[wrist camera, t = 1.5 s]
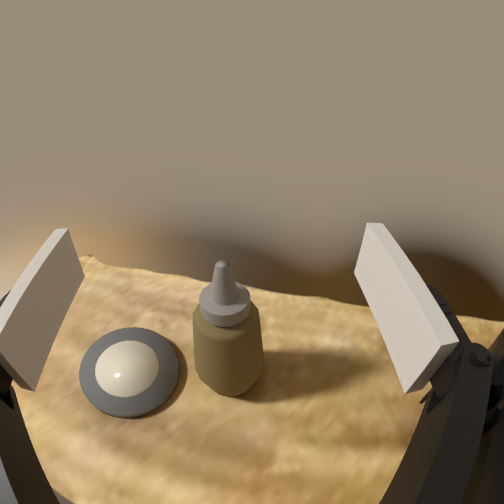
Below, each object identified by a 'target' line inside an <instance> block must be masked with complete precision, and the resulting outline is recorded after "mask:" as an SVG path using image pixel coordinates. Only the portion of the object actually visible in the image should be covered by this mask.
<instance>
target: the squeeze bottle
mask: <svg viewBox="0 0 504 504" xmlns="http://www.w3.org/2000/svg"><path fill="white" fill-rule="evenodd" d="M199 303H200V304H198V306H197V307H196V309H195V311H194V313H193V337H194V356H195V370H196V371H197V373H198V375H199V377H200V379H201V380H202V381H203V382H204V383H205V384H206V385H208V386H209V387H210V388H211V389H213V390H214V391H215V392H217V393H218V394H220V395H224V396H227V397H229V396H238V395H240V394H243V393H245V392H246V391H247V390H248V389H249V388H250V387H251V386H252V385H253V384H254V383H255V382H256V380H257V379H258V378H259V377H260V376H261V373H262V370H263V367H264V356H263V346H262V337H261V327H260V318H259V312H258V309H257V307H256V306H255V305H254V304H253V302H252V301H250V294H249V291H248V290H247V289H246V288H245V286H243V285H241V284H239V283H237V282H235V280H234V276H233V273H232V270H231V267H230V264H229V262H227V261H224V260H222V261H218V262H217V263H216V265H215V270H214V276H213V280H212V283H211V284H209V285H208V286H207V287H205V288H204V289H203V290H202V292H201V294H200V295H199Z"/></svg>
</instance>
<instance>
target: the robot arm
mask: <svg viewBox="0 0 504 504" xmlns="http://www.w3.org/2000/svg"><path fill="white" fill-rule="evenodd" d="M354 274H355V276H356V278H357V280H358V282H359V284H360V286H361V289H362V291H363V293H364V295H365V297H366V300H367V302H368V304H369V306H370V309H371V311H372V313H373V315H374V318H375V320H376V322H377V325H378V327H379V329H380V332H381V334H382V337H383V339H384V341H385V344H386V346H387V349H388V351H389V354H390V356H391V359H392V361H393V364H394V366H395V369H396V372H397V374H398V377H399V380H400V382H401V385H402V388H403V390H404V393H405V394H406V393H410V392H414V391H418V390H421V389H423V388H424V386H425V385H426V384H427V383H428V382H429V380H430V382H431V384H432V388H431V389H430V391H429V392H428V393H427V394H426V395H425V396H424V397H423V398H422V400H421V401H420V404H422V403H423V402H424V401H425V400H426V399H427V400H426V402H425V405H424V408H423V411H422V414H421V416H420V419H419V422H418V424H417V427H416V429H415V432H414V434H413V437H412V439H411V441H410V444H409V446H408V448H407V451H406V453H405V455H404V457H403V459H402V461H401V463H400V466H399V468H398V470H397V472H396V474H395V476H394V478H393V480H392V481H391V483H390V485H389V487H388V489H387V491H386V493H385V494H384V496H383V498H382V500H381V501H380V503H379V504H460V503H461V504H504V329H503V330H502V332H501V333H500V334H499V336H498V337H497V338H496V340H495V341H494V342H493V344H492V345H491V346H490V347H489V349H488V350H487V349H486V348H485V347H484V346H482V345H481V344H478V343H471V341H470V339H469V338H468V336H467V334H466V332H465V331H464V329H463V327H462V326H461V324H460V322H459V321H458V319H457V317H456V316H455V314H453V311H452V309H451V308H450V306H448V303H447V301H446V300H445V298H444V297H443V295H442V293H440V292H439V291H438V290H437V289H436V288H435V287H434V286H432V285H425V283H424V282H423V280H422V279H421V277H420V275H419V274H418V272H417V271H416V269H415V268H414V267H413V265H412V264H411V262H410V261H409V259H408V258H407V256H406V255H405V253H404V252H403V251H402V249H401V248H400V246H399V245H398V244H397V242H396V241H395V240H394V238H393V237H392V236H391V234H390V233H389V231H388V230H387V229H386V228H385V226H384V225H383V224H382V223H367V226H366V230H365V234H364V238H363V242H362V246H361V249H360V253H359V257H358V261H357V264H356V268H355V271H354ZM84 277H85V275H84V273H83V270H82V268H81V265H80V262H79V259H78V256H77V254H76V251H75V248H74V245H73V242H72V239H71V236H70V233H69V229H55V230H54V232H53V233H52V234H51V236H50V237H49V238H48V239H47V240H46V242H45V243H44V244H43V246H42V247H41V248H40V250H39V251H38V252H37V254H36V255H35V256H34V258H33V259H32V261H31V262H30V263H29V265H28V266H27V267H26V269H25V270H24V272H23V273H22V275H21V276H20V278H19V279H18V281H17V282H16V283H15V285H14V287H13V288H12V290H10V291H9V292H8V294H6V295H5V296H4V297H3V298H2V300H1V301H0V504H60V503H59V501H58V500H57V498H56V496H55V494H54V492H53V490H52V488H51V486H50V484H49V482H48V480H47V478H46V476H45V474H44V471H43V469H42V467H41V465H40V462H39V460H38V458H37V455H36V453H35V450H34V448H33V445H32V443H31V440H30V437H29V435H28V432H27V429H26V426H25V423H24V420H23V417H22V414H21V411H20V408H19V404H18V401H17V397H16V394H15V390H14V388H13V387H12V386H11V382H12V380H14V381H15V382H16V383H17V384H18V385H19V386H20V387H21V388H23V389H27V390H30V391H34V392H35V389H36V386H37V384H38V381H39V378H40V375H41V373H42V370H43V367H44V365H45V362H46V360H47V357H48V355H49V352H50V350H51V347H52V345H53V342H54V340H55V338H56V335H57V333H58V331H59V328H60V326H61V324H62V322H63V320H64V317H65V315H66V313H67V311H68V309H69V307H70V305H71V303H72V301H73V299H74V296H75V294H76V292H77V290H78V289H79V287H80V285H81V283H82V281H83V279H84ZM461 500H462V502H461Z"/></svg>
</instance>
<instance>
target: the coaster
mask: <svg viewBox="0 0 504 504" xmlns="http://www.w3.org/2000/svg"><path fill="white" fill-rule="evenodd" d="M178 377H179V363H178V360H177V356H176V353H175V351H174V349H173V347H172V346H171V344H170V343H169V342H168V341H167V340H166V339H165V338H164V337H163V336H161V335H160V334H158V333H156V332H154V331H151V330H148V329H144V328H136V327H134V328H123V329H118V330H115V331H112V332H110V333H108V334H106V335H104V336H102V337H101V338H99V339H98V340H97V341H96V342H95V343H93V344H92V346H91V347H90V348H89V349H88V350H87V352H86V353H85V355H84V357H83V359H82V362H81V365H80V371H79V380H80V385H81V388H82V390H83V392H84V394H85V396H86V397H87V398H88V400H89V401H90V402H91V403H92V404H93V405H94V406H95V407H96V408H97V409H99V410H100V411H101V412H103V413H105V414H108V415H110V416H113V417H118V418H135V417H140V416H143V415H146V414H148V413H150V412H152V411H154V410H156V409H157V408H159V407H160V406H161V405H163V404H164V403H165V402H166V401H167V400H168V398H169V397H170V396H171V394H172V393H173V391H174V389H175V387H176V385H177V382H178Z"/></svg>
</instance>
